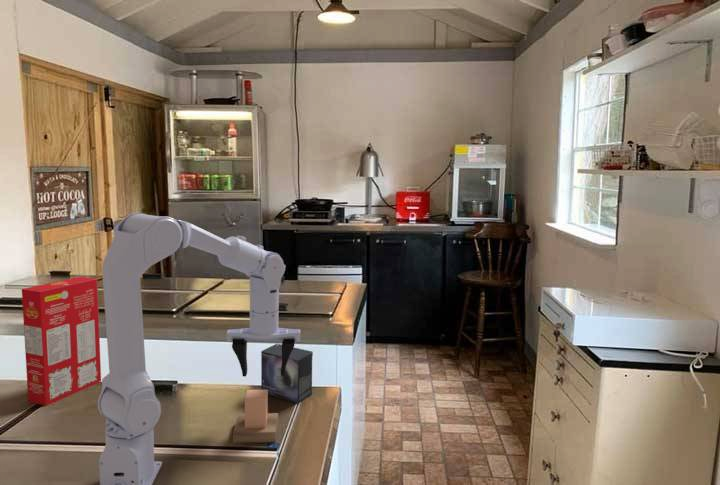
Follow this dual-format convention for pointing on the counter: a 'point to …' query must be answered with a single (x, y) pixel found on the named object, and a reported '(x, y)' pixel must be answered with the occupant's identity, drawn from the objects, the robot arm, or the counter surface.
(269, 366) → the small box
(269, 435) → the plinth
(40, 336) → the food packaging
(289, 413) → the counter surface
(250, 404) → the block
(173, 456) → the counter surface
